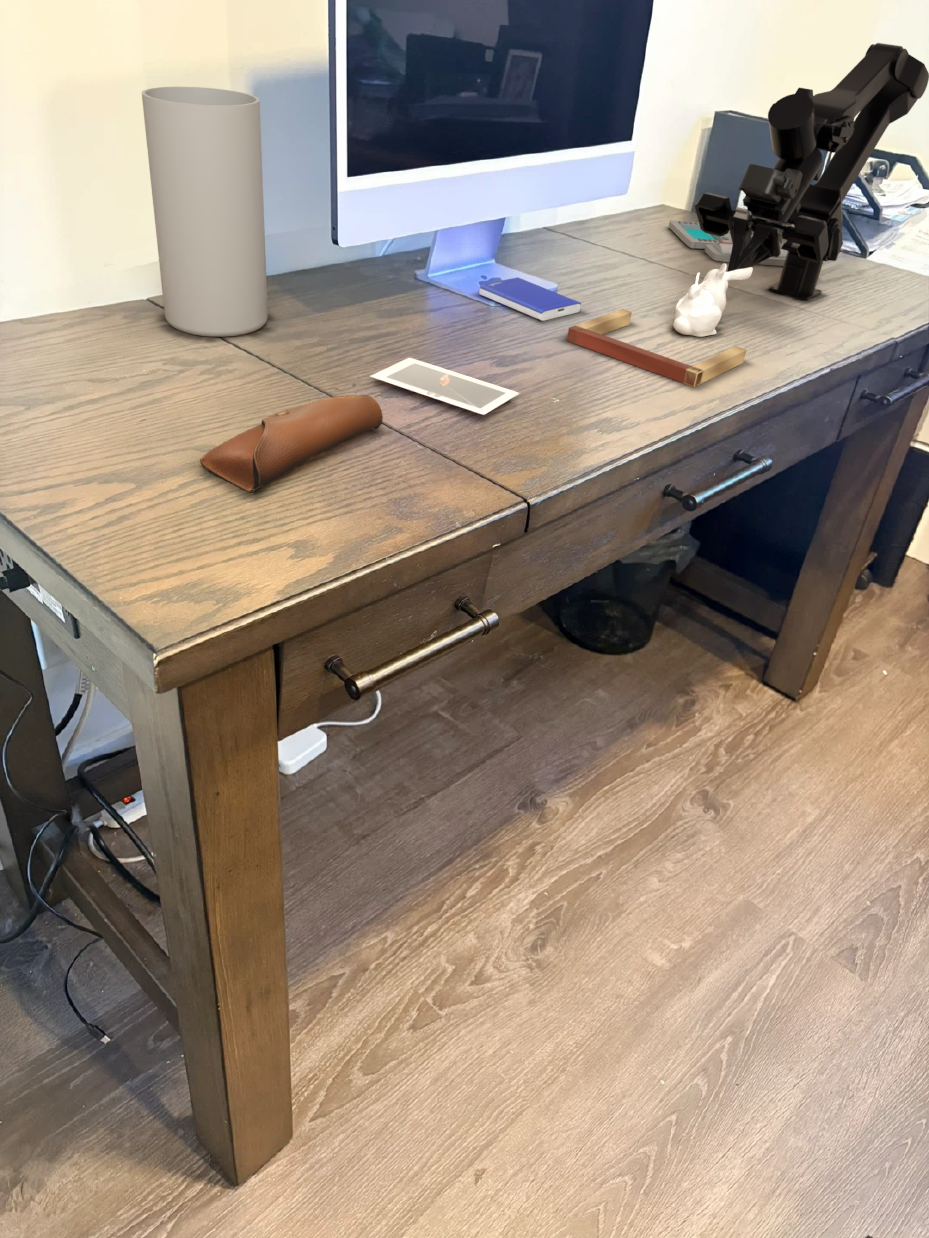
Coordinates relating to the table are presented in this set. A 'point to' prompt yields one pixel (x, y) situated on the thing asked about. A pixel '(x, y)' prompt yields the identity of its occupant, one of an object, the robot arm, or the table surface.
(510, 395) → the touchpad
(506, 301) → the hard drive
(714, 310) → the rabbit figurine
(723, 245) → the office telephone
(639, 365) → the bay
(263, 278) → the cylinder vase
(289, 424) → the sunglasses case
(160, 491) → the table surface
